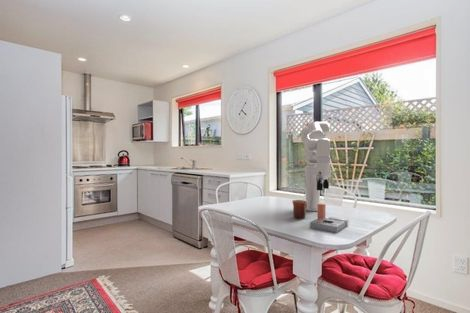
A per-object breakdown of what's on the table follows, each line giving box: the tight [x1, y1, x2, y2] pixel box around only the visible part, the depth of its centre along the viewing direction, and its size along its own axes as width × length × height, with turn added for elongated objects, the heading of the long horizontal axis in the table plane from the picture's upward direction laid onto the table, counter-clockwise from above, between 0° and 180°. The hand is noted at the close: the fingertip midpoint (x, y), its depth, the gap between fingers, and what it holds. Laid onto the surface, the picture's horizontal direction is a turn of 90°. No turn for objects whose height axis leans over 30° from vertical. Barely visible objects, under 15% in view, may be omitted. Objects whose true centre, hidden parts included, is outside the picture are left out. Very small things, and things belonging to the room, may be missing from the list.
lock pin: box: [316, 202, 326, 219], centre depth 160 cm, size 3×3×10 cm
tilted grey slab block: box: [327, 216, 349, 228], centre depth 153 cm, size 10×3×3 cm, turn 52°
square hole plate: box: [309, 217, 347, 234], centre depth 146 cm, size 14×14×3 cm
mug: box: [291, 199, 307, 220], centre depth 168 cm, size 12×9×10 cm
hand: (322, 189), depth 160 cm, fingers open, 9 cm apart
